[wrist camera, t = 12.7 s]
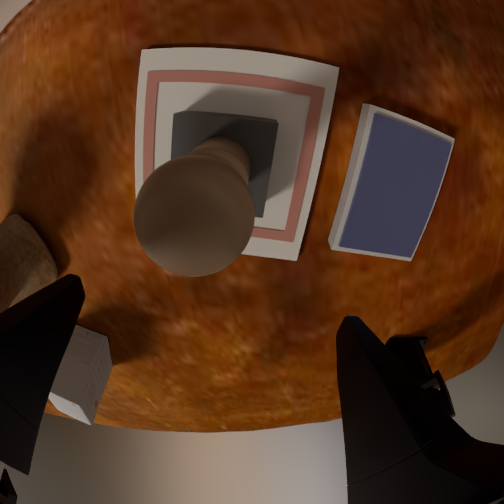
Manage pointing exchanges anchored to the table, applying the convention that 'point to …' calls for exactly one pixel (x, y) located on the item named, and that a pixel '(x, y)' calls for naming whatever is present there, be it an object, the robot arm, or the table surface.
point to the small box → (82, 375)
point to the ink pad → (389, 185)
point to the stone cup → (22, 262)
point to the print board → (250, 104)
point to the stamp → (206, 192)
